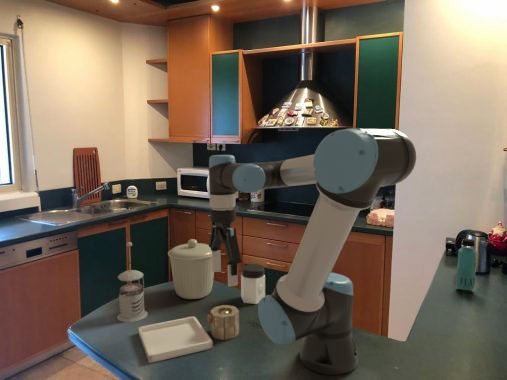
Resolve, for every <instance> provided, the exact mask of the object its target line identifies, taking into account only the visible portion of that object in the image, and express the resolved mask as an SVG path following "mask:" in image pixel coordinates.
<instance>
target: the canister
mask: <svg viewBox="0 0 507 380" xmlns="http://www.w3.org/2000/svg"><path fill="white" fill-rule="evenodd" d="M167 255H168V257H169V259H170V268H171V274H172V281H173V286H174V291H175V293H176V295H177V296H179V297H180V298H181V299H182V298H183V299H186V300H198V299H203V298H205V297H207V296H208V295H209V294H210V293H211V292H212V290H213V283H214V275H215V274H214V273H215V272H212V251H211V247H209V244H207V243H201V242H200V243H198V241H197V239H194V238H191V239H189V240H188V241H187V243H183V244H178V245H176V246H174V247H172V248H171V249H170V250H169V251H167Z"/></svg>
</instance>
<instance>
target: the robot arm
mask: <svg viewBox="0 0 507 380" xmlns="http://www.w3.org/2000/svg"><path fill="white" fill-rule="evenodd" d="M208 159H209V160H208V162H209V163H208V166H209V167H208V180H209V181H208V182H209V185H208V186H209V208H210V210H209V213H210V214H209V217H210V218H209V219H210V222H211V229H210V236H209V241H208V245H209V247H211V251H212V272H214V273H217V272H218V273H219V272H222V260H221V259H222V257H221V256H222V255H221V250H222V247H221V246H222V244H223V245H224V249H225V252H226V253H225V254H226V257H227V260H228V261H227V263H226V265H227V286H228V287H234V286H238V285H239V279H238V278H239V277H238V276H239V275H238V274H239V271H238V269H239V268H238V266H239V265H238V264H241V263H242V258H241V254H240V247H239V242H238V238H237V228H236V227H232V225H231V224H233V223H234V222H235V221H236V220H237V209H236V208H235V207H236V204H237V203H236V199H237V197H238V196H237V195H236V191H237V192H241V193H245V194H247V193H251V194H254V193H258V192H259V191H260V190H268V189H279V188H289V187H292V186H293V187H294V186H295V187H296V186H302V185H303V186H305V185H313V184H314V185H315V187H316V189H317V191H318V192H319V195H318V198H317V200H316V203H315V205H314V208H313V211H312V213H311V215H310V218H309V220H308V223H307V225H306V228H305V231H304V233H303V236H302V238H301V240H300V243H299V246H298V247H297V251H296V253H295V255H294V258H293V260H292V263H291V266H290V267H289V271H288V273H287V274H285V275H283V276H281V277H280V278H279V279H278V280H277V282H276V285H275V287H274V289H273V292H272V293H271V294H270V295H269V294H265V297H263V298H262V299H261V300H260V301H259V303H258V304H257V314H258V319H259V322H260V325H261V327H262V329H263V331H264V333H265V335H266V336H267V337H268V338H269V340H270V341H272V343H274V344H276V345H279V346H285V345H288V344H294V343H295V342H296V341H299V340H301V339H302V344H301V345H300V349H299V358H300V362H301V363H302V364H303V366H305V367H306V368H307V369H310V371H313V372H316V373H318V374H322V375H330V376H337V375H345V374H348V373H350V372H352V371H353V370H355V369H356V368H357V366H358V362H359V354H358V353H359V352H358V350H357V346H356V343H355V339H354V336H353V333H352V332H353V331H352V330H353V305H354V304H353V303H354V296H355V295H354V284H353V282H352V280H351V278H349V277H347V276H346V275H343V274H339V273H336V272H332V271H333V268H334V266H335V264H336V262H337V260H338V258H339V255H340V253H341V251H342V249H343V247H344V246H345V245H344V244H345V243H346V241H347V239H348V236H349V234H350V232H351V231H352V228H353V226H354V223H355V221H356V220H357V217H358V215H359V213H360V211H363V210H367V209H369V208H370V207H371V206H372V204H373V202H374V200H375V197H376V196H377V193H378V191H379V189H380V188H382V187H383V188H384V187H389V186H393V185H394V186H395V185H396V184H399V183H401V182H403V181H404V180H405V179H407V178H408V177H409V176H410V174H411V173H412V172H413V170H414V168H415V167H416V162H417V151H416V148H415V145H414V143H413V142H412V140H411V139H410V138H409V137H408V136H407V135H406V134H405V133H404V132H403V133H402V132H401V131H399V130H397V129H392V128H360V127H349V128H345V129H338V130H335V131H334V132H333V131H332V132H331V133H329V134H328V135H326V136H325V137H324V138H323V139H322V140H321V141H320V142H319V144H318V146H317V147H316V150H315V152H314V154H310V155H305V156H299V157H295V158H289V159H283V160H277V161H267V162H266V161H264V162H249V163H248V162H246V163H245V162H244V163H243V162H242V163H240V162H236V158H235V156H234V155H232V154H216V155H215V154H213V155H211V156H209V158H208Z"/></svg>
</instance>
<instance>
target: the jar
mask: <svg viewBox="0 0 507 380" xmlns="http://www.w3.org/2000/svg"><path fill="white" fill-rule="evenodd" d="M240 288H241V289H240V297H241V300H242V301H243V303H244V304H252V305H258V304H259V301H260V300H261V299H262V298H263V297H265V296H266V275H265V266H263V265H261V264H259V263H258V264H255V263H249V264H245V265H243V266H242V267H241V273H240Z"/></svg>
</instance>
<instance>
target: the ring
mask: <svg viewBox="0 0 507 380" xmlns="http://www.w3.org/2000/svg"><path fill="white" fill-rule="evenodd" d="M221 310H228V311H229V314H220V311H221ZM239 314H240V310H239V309H238V307H236V306H234V305H229V304H228V305H227V304H222V305H218V306H214V307H213V308H212V309H210V313H209V314H207V315H206V318H207V320H206V321H207V323H208V324H210V335H212V337H213V338H215V339H216V340H223V341H224V340H225V341H227V340H230V339H231V340H232V339H234V338H237V336H238V335H239V334H240V315H239Z"/></svg>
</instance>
